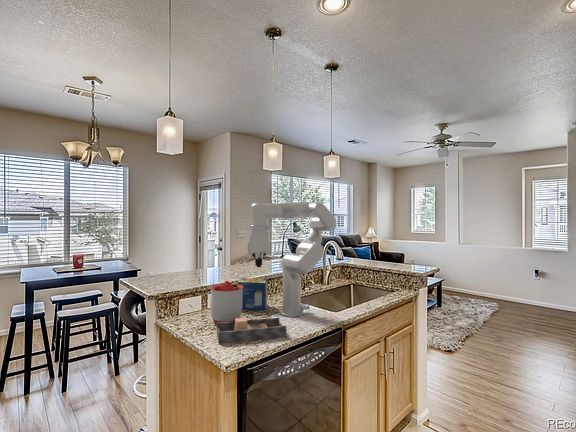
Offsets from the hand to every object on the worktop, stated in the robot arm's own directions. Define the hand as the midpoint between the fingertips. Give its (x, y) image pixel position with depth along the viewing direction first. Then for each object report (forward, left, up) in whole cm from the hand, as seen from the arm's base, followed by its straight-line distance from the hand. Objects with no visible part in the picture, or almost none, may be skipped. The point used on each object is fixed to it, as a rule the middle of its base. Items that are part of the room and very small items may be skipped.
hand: (258, 266), depth 150 cm
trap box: (+6, +16, -27) cm, 32 cm away
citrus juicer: (+14, -4, -27) cm, 31 cm away
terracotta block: (+11, +16, -24) cm, 30 cm away
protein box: (-2, -23, -27) cm, 36 cm away
